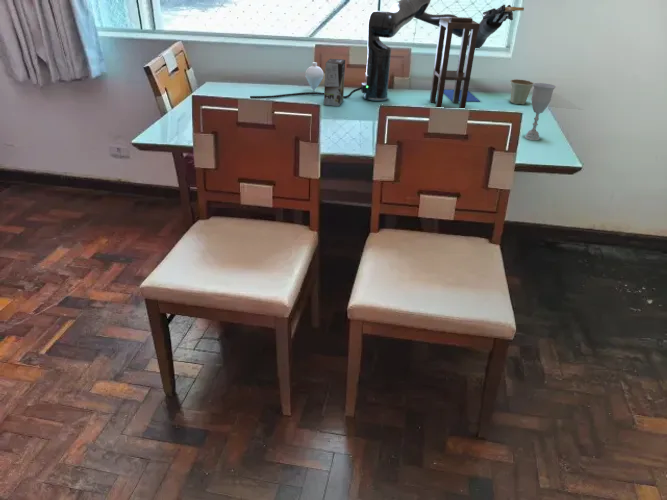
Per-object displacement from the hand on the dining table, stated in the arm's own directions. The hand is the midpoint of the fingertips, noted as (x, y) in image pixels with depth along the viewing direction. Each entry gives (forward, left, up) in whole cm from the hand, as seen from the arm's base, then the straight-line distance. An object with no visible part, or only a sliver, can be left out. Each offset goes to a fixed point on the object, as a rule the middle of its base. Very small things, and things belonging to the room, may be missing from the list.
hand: (506, 7), depth 220 cm
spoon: (0, -3, -3) cm, 4 cm away
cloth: (-12, +4, -36) cm, 38 cm away
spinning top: (-75, +4, -36) cm, 83 cm away
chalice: (-2, -51, -36) cm, 63 cm away
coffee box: (-68, -12, -36) cm, 78 cm away
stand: (-22, -12, -36) cm, 44 cm away
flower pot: (+10, -5, -36) cm, 38 cm away
